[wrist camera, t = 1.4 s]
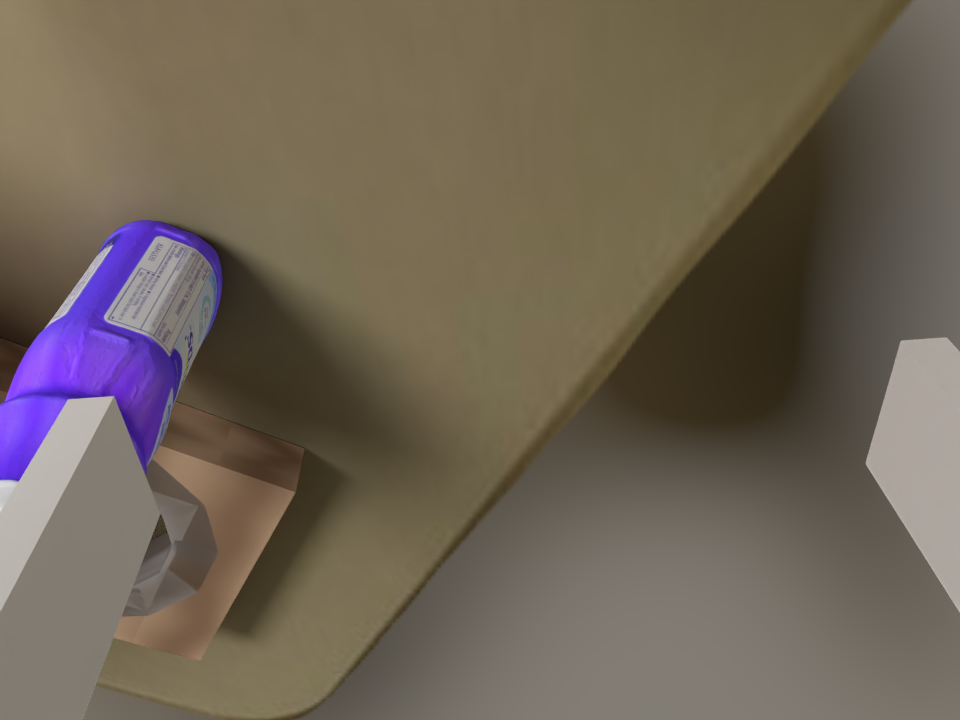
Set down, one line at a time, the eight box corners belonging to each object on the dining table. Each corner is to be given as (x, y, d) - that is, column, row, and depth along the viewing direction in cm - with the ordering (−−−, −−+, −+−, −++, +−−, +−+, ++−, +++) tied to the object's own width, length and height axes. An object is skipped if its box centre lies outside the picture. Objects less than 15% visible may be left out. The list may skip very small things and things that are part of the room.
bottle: (204, 355, 42) (83, 643, 28) (89, 317, 41) (-99, 602, 26) (243, 238, 39) (128, 501, 24) (119, 191, 37) (-81, 443, 23)
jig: (-86, 528, 48) (-119, 575, 45) (-38, 324, 41) (-74, 364, 38) (212, 614, 54) (199, 661, 51) (304, 448, 46) (295, 492, 43)
